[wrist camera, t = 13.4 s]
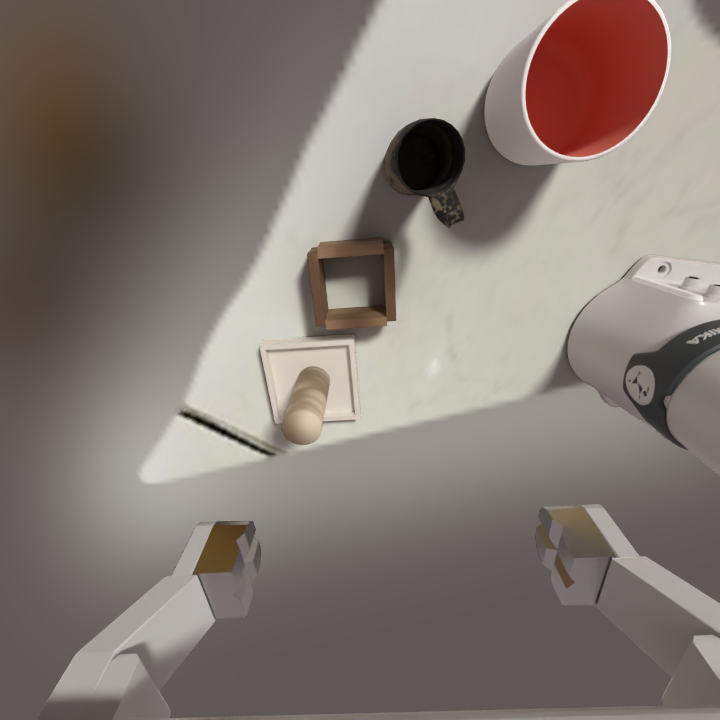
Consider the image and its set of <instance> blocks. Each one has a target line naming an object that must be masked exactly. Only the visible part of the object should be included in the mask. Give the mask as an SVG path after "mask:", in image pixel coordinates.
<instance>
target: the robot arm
mask: <svg viewBox="0 0 720 720" xmlns="http://www.w3.org/2000/svg"><path fill="white" fill-rule="evenodd" d="M660 266H662V267H661V269H660V270H659V271H658V268H659V267H660ZM568 359H569V362H570V365H571V367H572V369H573V371H574V372H575V374H576V375H577V376H578V377H579V378H580V379H581V380H582V381H584V382H585V383H587V384H589V385H591V386H592V387H594V388H595V389H597V391H598V392H599V394H600V396H601V398H602V399H603V400H604V402H606V403H607V404H608V405H610V406H612V407H622V408H623V409H624V410H626V411H627V412H629V413H630V414H632V415H633V416H634V417H636V418H638V419H639V420H641V421H642V422H643V423H645V424H646V425H648V426H650V427H652V428H655V429H656V431H657V432H658V433H659V434H660V435H661V436H663V437H664V438H666V439H667V440H670V441H671V442H672V443H674V444H675V445H677V446H679V447H681V448H683V449H686V450H689V451H691V452H692V453H693V454H694V455H695V456H697V457H698V458H699V459H700V460H701V461H703V462H704V463H705V464H706V465H708V466H709V467H710V468H711V469H713V470H714V471H715V472H716V473H717V474H719V475H720V264H718V263H710V262H703V261H695V260H688V259H680V258H672V257H665V256H657V255H647V256H645V257H643V258H641V259H640V260H639V261H638V262H637V263H636V264H635V265H634V266H633V267H632V268H631V269H630V271H629V272H628V273H627V274H626V275H625V276H624V278H622V279H621V280H620V281H618V282H617V283H616V284H614V285H612V286H611V287H609V288H607V289H606V290H604V291H603V292H601V293H600V294H599V295H598V296H596V297H595V298H594V299H593V300H592V301H591V302H590V303H589V304H588V305H587V306H586V307H585V308H584V309H583V311H582V312H581V313H580V315H579V316H578V318H577V319H576V321H575V323H574V325H573V327H572V330H571V332H570V336H569V340H568ZM539 519H540V520H541V523H542V524H541V525H539V526H538V527H537V528H536V536H535V539H536V547H537V550H538V554H539V556H540V559H541V561H542V563H543V565H544V566H546V567H547V568H548V569H549V570H551V571H552V576H551V582H552V584H553V587H554V588H555V591H556V593H557V595H558V597H559V599H560V601H561V603H562V605H597V606H596V607H597V608H598V609H599V610H600V611H601V612H602V613H603V614H604V615H605V616H607V617H608V618H609V619H610V620H611V621H612V622H613V623H614V624H615V625H616V626H617V627H618V628H619V629H620V630H622V631H623V632H624V633H625V634H626V635H627V636H628V637H629V638H630V639H631V640H632V641H634V643H635V644H637V645H638V646H639V647H640V648H641V649H642V650H643V651H644V652H645V653H646V654H647V655H648V656H650V657H651V658H652V659H653V660H654V661H655V662H656V663H657V664H658V665H659V666H660V667H661V668H662V669H663V670H664V671H665V672H667V673H668V674H669V675H670V676H671V677H672V678H671V680H670V682H669V684H668V686H667V688H666V690H665V692H664V694H663V697H662V699H661V700H662V702H663V704H664V706H643V707H605V708H604V707H603V708H602V707H601V708H565V709H564V708H561V709H524V710H481V711H442V712H405V713H403V712H402V713H366V714H365V713H364V714H324V715H286V716H247V717H211V718H210V717H208V718H172V719H171V718H169V717H170V714H171V712H170V710H169V707H168V705H167V704H166V702H165V700H164V698H163V697H162V695H161V693H160V692H159V690H160V689H161V688H162V686H163V685H164V684H165V683H166V682H167V680H168V679H169V678H170V677H171V675H172V674H173V673H174V671H175V670H176V669H177V668H178V666H179V665H180V664H181V663H182V661H183V660H184V659H185V658H186V656H187V655H188V654H189V653H190V651H191V650H192V649H193V648H194V647H195V645H196V644H197V643H198V642H199V640H200V639H201V638H202V637H203V635H204V634H205V633H206V632H207V630H208V629H209V628H210V626H211V625H212V624H213V623H214V622H215V619H219V618H233V617H246V615H247V612H248V608H249V605H250V601H251V598H252V594H253V590H252V587H251V582H252V581H253V580H254V579H255V578H256V577H257V575H258V571H259V567H260V559H261V549H260V544H259V540H257V539H256V538H255V537H254V534H255V530H256V529H255V526H254V523H253V521H223V522H222V521H221V522H200V523H199V524H198V525H197V526H196V527H195V529H194V531H193V533H192V535H191V537H190V539H189V541H188V543H187V545H186V547H185V549H184V551H183V553H182V555H181V558H180V559H179V561H178V564H177V565H176V567H175V569H174V572H173V574H172V576H166V577H165V578H163V579H162V580H161V581H160V582H159V583H157V584H156V585H155V586H154V587H153V588H152V589H151V590H149V591H148V592H147V593H146V594H145V595H144V596H143V597H141V598H140V599H139V600H138V601H137V602H135V603H134V604H133V605H132V606H131V607H130V608H128V609H127V610H126V611H125V612H124V613H123V614H122V615H121V616H119V617H118V618H117V619H116V620H115V621H114V622H112V623H111V624H110V625H109V626H108V627H106V628H105V629H104V630H103V631H102V632H101V633H100V634H98V635H97V636H96V637H95V638H94V639H92V640H91V641H90V642H89V643H88V644H87V645H86V646H84V647H83V648H82V649H81V650H80V651H79V652H77V653H76V655H75V656H74V658H73V660H72V661H71V663H70V665H69V666H68V668H67V670H66V671H65V673H64V674H63V676H62V678H61V679H60V681H59V683H58V684H57V686H56V687H55V689H54V691H53V693H52V694H51V696H50V697H49V699H48V701H47V702H46V704H45V706H44V707H43V709H42V710H41V712H40V714H39V716H38V717H37V719H36V720H720V604H719V603H718V602H716V601H715V600H713V599H712V598H710V597H709V596H707V595H705V594H704V593H702V592H701V591H699V590H697V589H696V588H694V587H693V586H691V585H690V584H688V583H686V582H685V581H683V580H682V579H680V578H679V577H677V576H675V575H674V574H672V573H671V572H669V571H668V570H666V569H665V568H663V567H661V566H660V565H658V564H657V563H655V562H654V561H652V560H650V559H649V558H647V557H640V556H639V555H638V554H637V552H636V551H635V550H634V548H633V547H632V546H631V544H630V543H629V541H628V540H627V539H626V538H625V536H624V535H623V533H622V532H621V531H620V529H619V528H618V527H617V525H616V524H615V523H614V522H613V520H612V519H611V517H610V516H609V515H608V513H607V512H606V511H605V509H604V508H603V507H602V506H600V505H599V504H590V505H567V506H550V507H542V508H541V510H540V512H539Z"/></svg>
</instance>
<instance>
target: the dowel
mask: <svg viewBox="0 0 720 720" xmlns="http://www.w3.org/2000/svg"><path fill="white" fill-rule="evenodd" d="M329 386H330V378H329V375H328V374H327V372H326V371H325V370H323V369H322V368H319V367H315V366H311V367H307V368H305V369H303V370H302V371H301V372H300V374H299V376H298V379H297V382H296V384H295V387H294V390H293V393H292V396H291V399H290V402H289V404H288V407H287V410H286V413H285V416H284V419H283V422H282V425H281V429H282V432H283V434H284V436H285V437H286V438H287V439H288V440H289V441H291V442H293V443H295V444H299V445H307V444H311V443H313V442H315V441H316V440H317V439H318V438H319V436H320V434H321V430H322V424H323V419H324V413H325V408H326V402H327V397H328V391H329Z"/></svg>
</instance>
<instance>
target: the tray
mask: <svg viewBox="0 0 720 720" xmlns="http://www.w3.org/2000/svg"><path fill="white" fill-rule="evenodd" d="M259 347H260V351H261V356H262V361H263V366H264V371H265V376H266V381H267V386H268V390H269V395H270V400H271V405H272V410H273V415H274V420H275V424H282V422H283V419H284V416H285V413H286V410H287V407H288V404H289V402H290V399H291V396H292V393H293V390H294V387H295V384H296V382H297V379H298V376H299V374H300V372H301V371H302V370H303V369H305V368H307V367H311V366H315V367H319V368H322V369H323V370H325V371H326V372H327V374H328V375H329V378H330V386H329V391H328V397H327V402H326V408H325V413H324V419H323V421H337V420H355V419H361V409H360V397H359V385H358V373H357V361H356V349H355V337H354V334H344V335H328V336H313V337H297V338H282V339H266V340H263V341H262V342H261V344H260V345H259Z"/></svg>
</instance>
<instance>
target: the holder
mask: <svg viewBox="0 0 720 720" xmlns="http://www.w3.org/2000/svg"><path fill="white" fill-rule="evenodd" d="M377 254H382V262H383V284H384V306H369V307H355V308H340V309H328V302H327V293H326V284H325V275H324V266H323V258H336V257H350V256H363V255H377ZM307 257H308V265H309V272H310V280H311V288H312V296H313V303H314V311H315V319H316V326H325V325H326V330H331V329H346V328H362V327H377V326H387V321H396V301H395V270H394V247H393V245H392V243H391V242H383V241H382V238H371V239H357V240H344V241H330V242H321V243H320V244H319V246H318V247H315V248H311V250H310V251H309V253H308V254H307Z"/></svg>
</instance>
